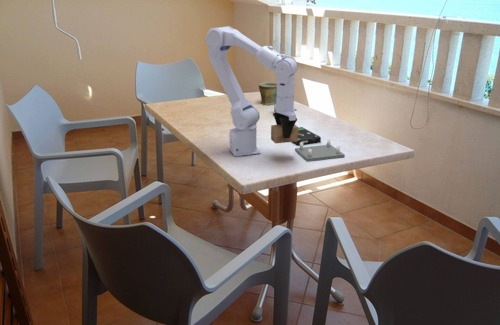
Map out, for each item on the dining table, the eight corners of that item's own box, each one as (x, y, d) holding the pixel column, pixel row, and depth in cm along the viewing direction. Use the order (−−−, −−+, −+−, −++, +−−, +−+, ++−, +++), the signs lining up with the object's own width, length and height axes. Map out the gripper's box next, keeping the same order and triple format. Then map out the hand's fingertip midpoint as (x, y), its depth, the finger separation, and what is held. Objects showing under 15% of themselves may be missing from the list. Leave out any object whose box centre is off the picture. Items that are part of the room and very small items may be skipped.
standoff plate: (307, 161, 140) (307, 151, 138) (294, 150, 150) (295, 141, 148) (344, 157, 143) (345, 147, 142) (330, 147, 153) (330, 138, 152)
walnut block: (275, 143, 138) (275, 129, 136) (270, 139, 142) (271, 125, 140) (297, 141, 140) (298, 127, 138) (292, 137, 144) (293, 123, 142)
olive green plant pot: (278, 106, 211) (278, 86, 207) (258, 106, 211) (258, 86, 207) (277, 100, 223) (277, 81, 219) (258, 100, 223) (258, 81, 219)
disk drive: (321, 144, 158) (301, 132, 171) (321, 137, 157) (301, 126, 170) (297, 147, 155) (279, 136, 167) (298, 140, 153) (279, 129, 166)
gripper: (305, 100, 129) (303, 141, 135) (288, 90, 142) (287, 128, 147) (284, 101, 128) (283, 143, 133) (269, 92, 140) (268, 130, 146)
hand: (284, 135), depth 140 cm, fingers closed on walnut block, 4 cm apart
